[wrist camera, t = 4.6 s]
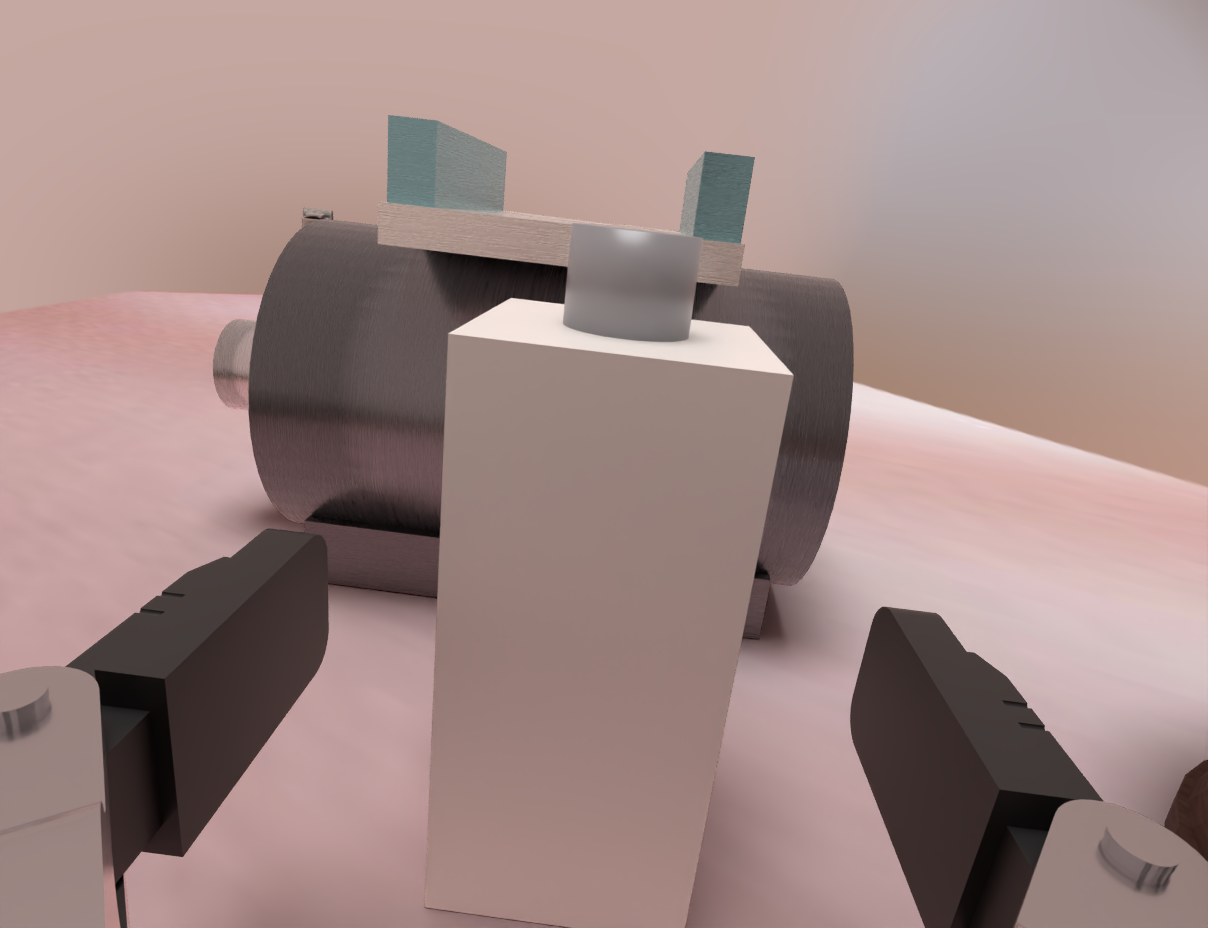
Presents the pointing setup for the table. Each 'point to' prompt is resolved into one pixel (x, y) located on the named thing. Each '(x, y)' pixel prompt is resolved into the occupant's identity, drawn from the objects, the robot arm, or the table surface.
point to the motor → (453, 298)
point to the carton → (593, 586)
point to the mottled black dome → (1192, 810)
